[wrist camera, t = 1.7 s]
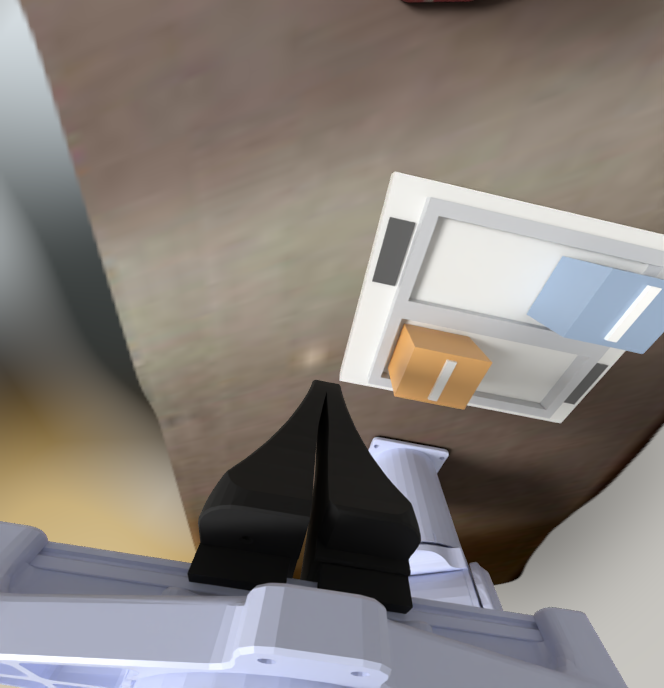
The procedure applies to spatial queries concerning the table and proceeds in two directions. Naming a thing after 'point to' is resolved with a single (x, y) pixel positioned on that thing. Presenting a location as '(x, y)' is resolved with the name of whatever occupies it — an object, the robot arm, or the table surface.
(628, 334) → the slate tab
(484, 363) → the orange white-striped block
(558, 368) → the white flat tray
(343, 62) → the table surface
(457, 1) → the pliers
